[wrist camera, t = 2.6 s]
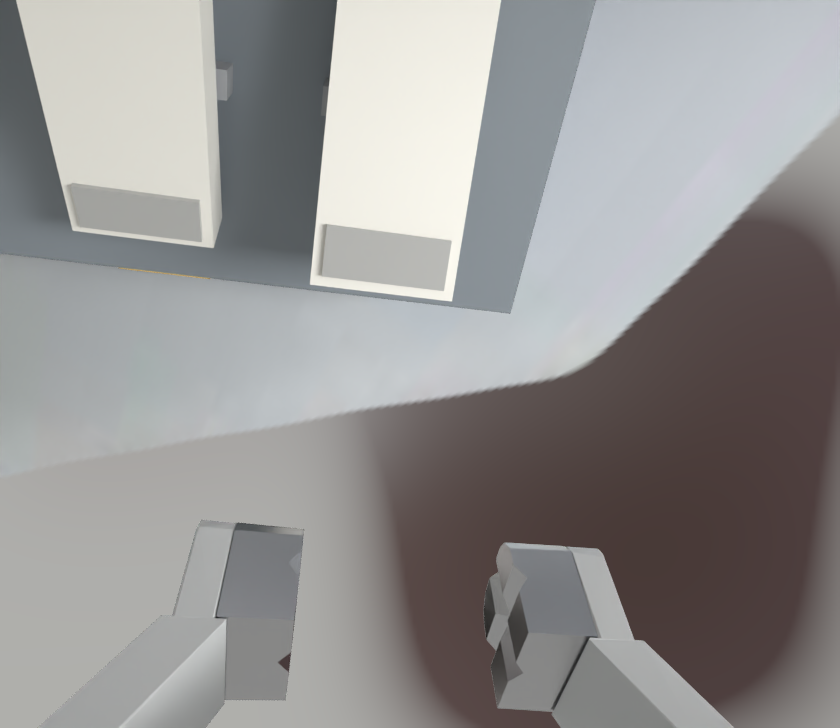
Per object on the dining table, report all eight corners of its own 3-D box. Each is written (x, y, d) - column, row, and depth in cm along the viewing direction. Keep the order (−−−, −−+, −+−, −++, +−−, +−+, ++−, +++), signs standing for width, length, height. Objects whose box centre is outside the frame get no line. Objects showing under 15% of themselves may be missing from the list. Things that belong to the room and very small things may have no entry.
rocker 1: (207, -116, 15) (192, -93, 14) (222, 217, 22) (212, 251, 21) (11, -155, 14) (-21, -134, 13) (88, 200, 21) (71, 233, 20)
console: (580, -122, 22) (643, -129, 17) (488, 259, 29) (513, 334, 24) (-280, -307, 18) (-521, -383, 13) (-142, 178, 26) (-266, 245, 21)
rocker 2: (497, -43, 18) (511, -59, 17) (445, 289, 21) (452, 302, 19) (345, -72, 18) (346, -92, 16) (312, 273, 20) (309, 285, 19)
